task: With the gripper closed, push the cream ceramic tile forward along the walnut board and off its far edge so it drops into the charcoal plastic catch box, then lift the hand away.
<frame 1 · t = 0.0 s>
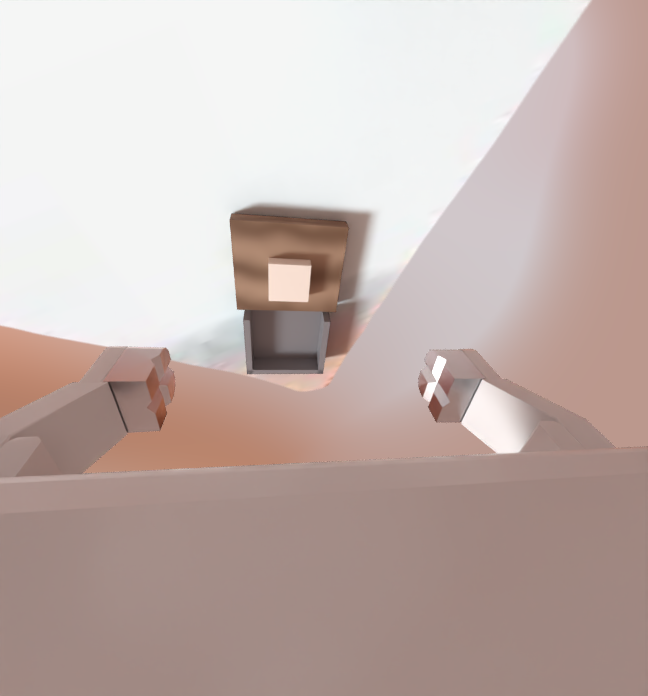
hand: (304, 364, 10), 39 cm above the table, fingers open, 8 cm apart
board: (288, 263, 49), on the table
tile: (288, 277, 48), point 2 cm above the table, touching board
catch box: (286, 335, 58), on the table
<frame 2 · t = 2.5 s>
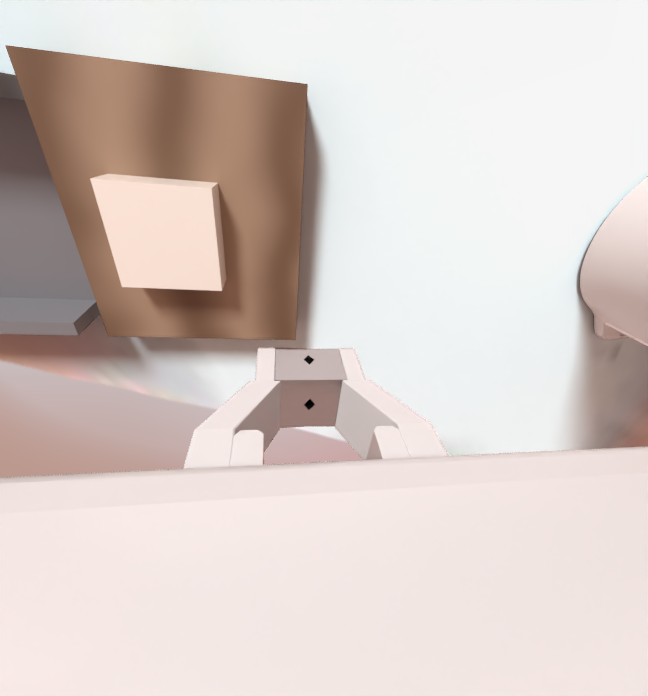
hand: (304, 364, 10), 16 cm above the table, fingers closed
board: (198, 222, 22), on the table
tile: (173, 231, 20), point 2 cm above the table, touching board
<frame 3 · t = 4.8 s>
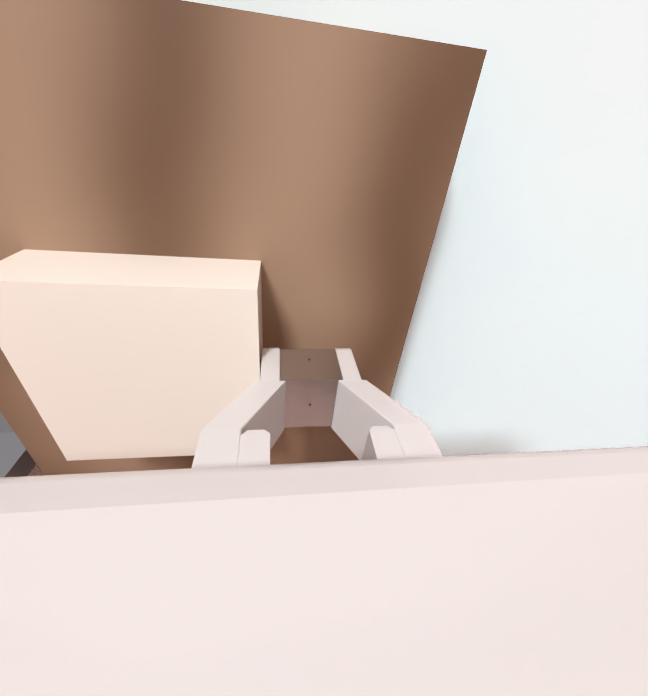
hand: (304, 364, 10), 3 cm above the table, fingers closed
board: (213, 310, 12), on the table
tile: (169, 346, 10), point 2 cm above the table, touching board, gripper
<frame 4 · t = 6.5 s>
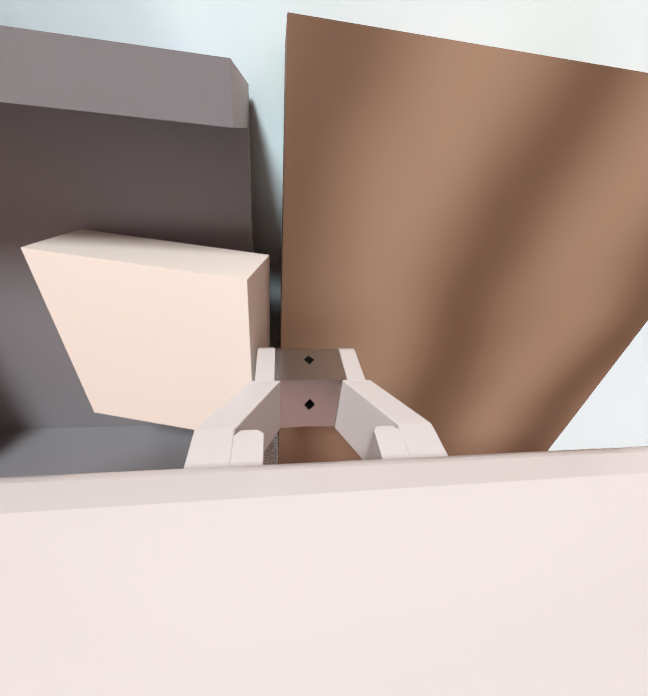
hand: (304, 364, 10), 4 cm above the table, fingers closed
board: (440, 314, 14), on the table
tile: (188, 326, 11), point 1 cm above the table, tilted 15°, touching gripper
catch box: (91, 304, 12), on the table
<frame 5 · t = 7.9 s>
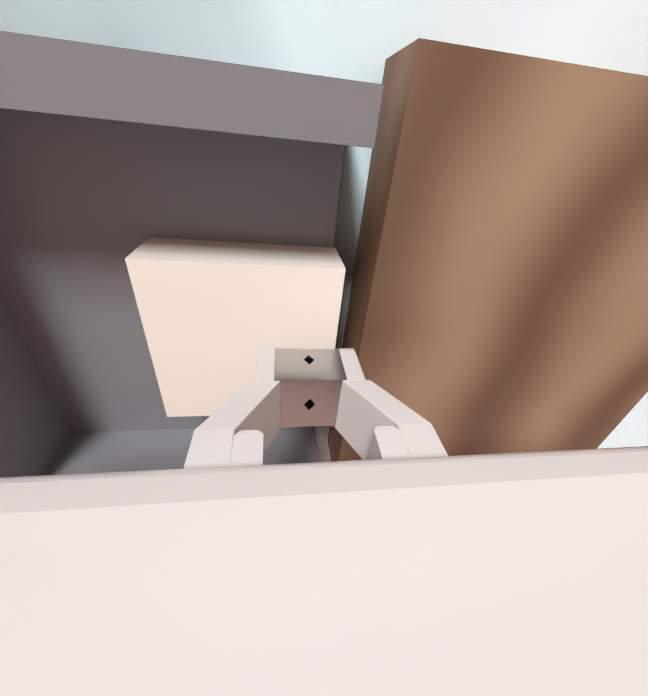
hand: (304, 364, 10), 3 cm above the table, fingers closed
board: (498, 318, 14), on the table
tile: (250, 321, 12), point 1 cm above the table, touching catch box
catch box: (169, 310, 12), on the table
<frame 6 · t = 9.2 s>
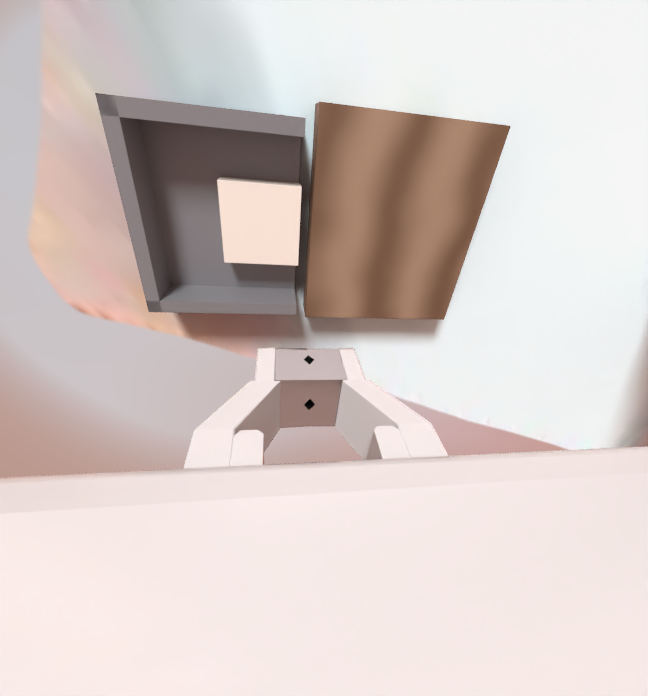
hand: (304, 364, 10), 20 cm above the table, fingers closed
board: (386, 226, 28), on the table
tile: (261, 220, 26), point 1 cm above the table, touching catch box
catch box: (224, 215, 26), on the table
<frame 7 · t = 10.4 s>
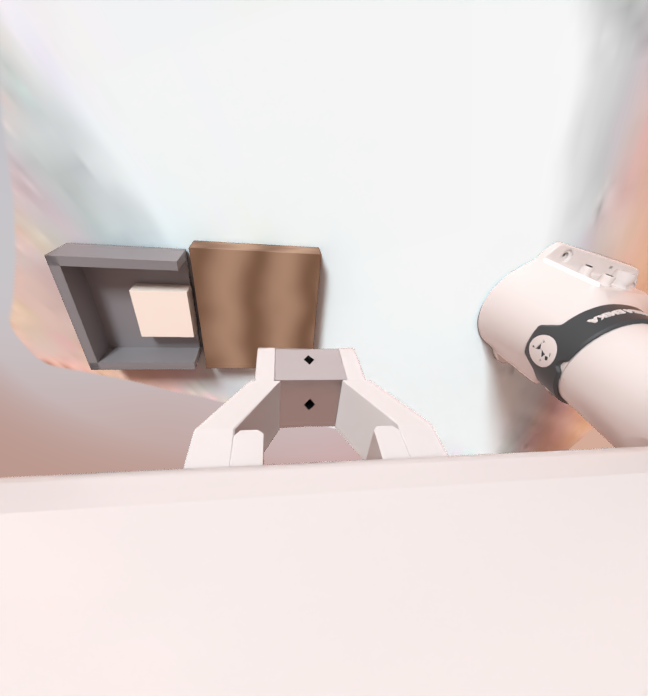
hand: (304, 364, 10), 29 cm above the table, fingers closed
board: (259, 306, 41), on the table
tile: (168, 307, 38), point 1 cm above the table, touching catch box
catch box: (142, 303, 38), on the table
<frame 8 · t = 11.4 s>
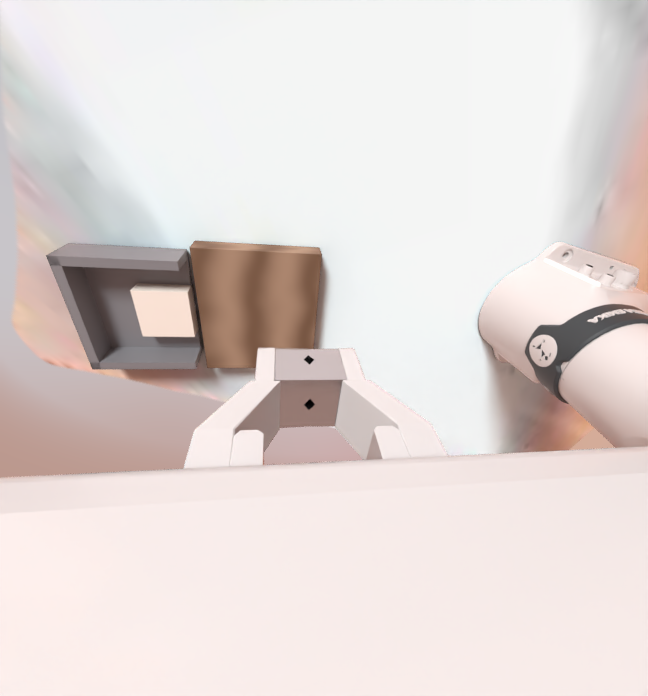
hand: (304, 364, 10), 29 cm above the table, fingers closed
board: (260, 306, 41), on the table
tile: (169, 307, 39), point 1 cm above the table, touching catch box
catch box: (143, 303, 39), on the table
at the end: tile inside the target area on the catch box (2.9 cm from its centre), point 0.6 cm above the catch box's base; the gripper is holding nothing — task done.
